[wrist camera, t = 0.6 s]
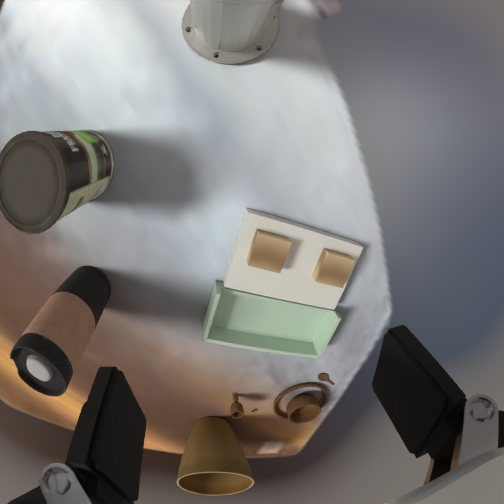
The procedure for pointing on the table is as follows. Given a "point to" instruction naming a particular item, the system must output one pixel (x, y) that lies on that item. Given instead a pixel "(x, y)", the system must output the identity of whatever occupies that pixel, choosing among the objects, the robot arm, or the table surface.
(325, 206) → the table surface
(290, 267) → the board
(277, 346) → the tray
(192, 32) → the robot arm
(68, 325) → the travel mug
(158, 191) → the table surface
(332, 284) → the tile
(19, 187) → the coffee can
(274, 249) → the tile
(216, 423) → the plant pot
